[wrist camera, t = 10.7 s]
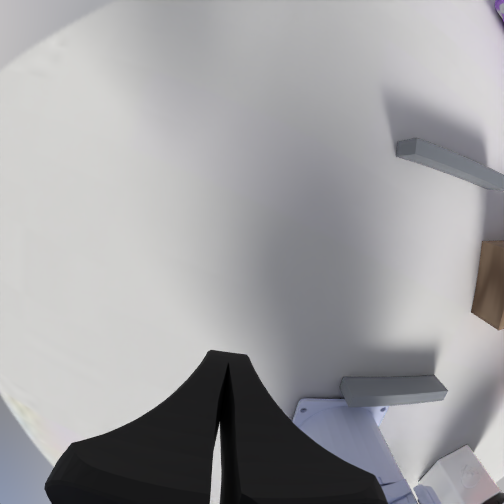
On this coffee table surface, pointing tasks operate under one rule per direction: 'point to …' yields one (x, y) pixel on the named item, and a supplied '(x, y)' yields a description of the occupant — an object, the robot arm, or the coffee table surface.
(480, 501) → the jar
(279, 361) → the coffee table surface
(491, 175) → the lane
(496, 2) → the pencil case
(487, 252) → the walnut block
